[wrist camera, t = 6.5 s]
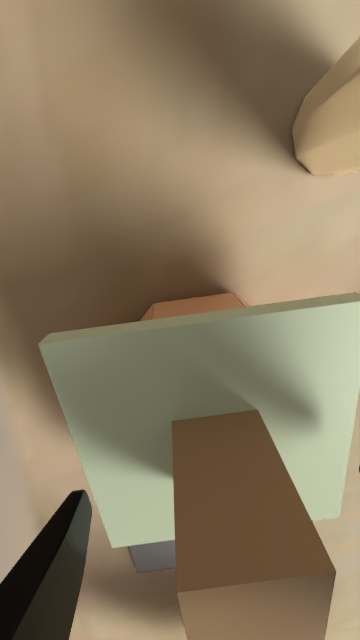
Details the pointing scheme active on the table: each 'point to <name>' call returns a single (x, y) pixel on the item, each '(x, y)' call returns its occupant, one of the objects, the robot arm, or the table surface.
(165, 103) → the table surface
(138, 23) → the table surface
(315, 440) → the cover board
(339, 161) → the milkshake
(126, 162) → the table surface
